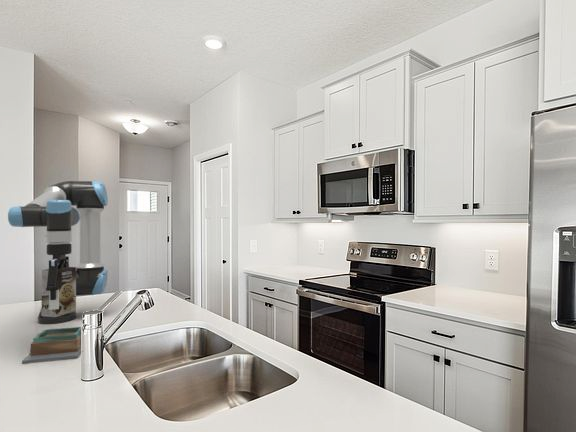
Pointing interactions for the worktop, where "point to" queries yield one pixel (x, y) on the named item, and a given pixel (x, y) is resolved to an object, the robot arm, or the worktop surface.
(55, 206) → the robot arm
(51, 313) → the coffee box
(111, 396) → the worktop surface
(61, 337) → the riser
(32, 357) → the baseplate
